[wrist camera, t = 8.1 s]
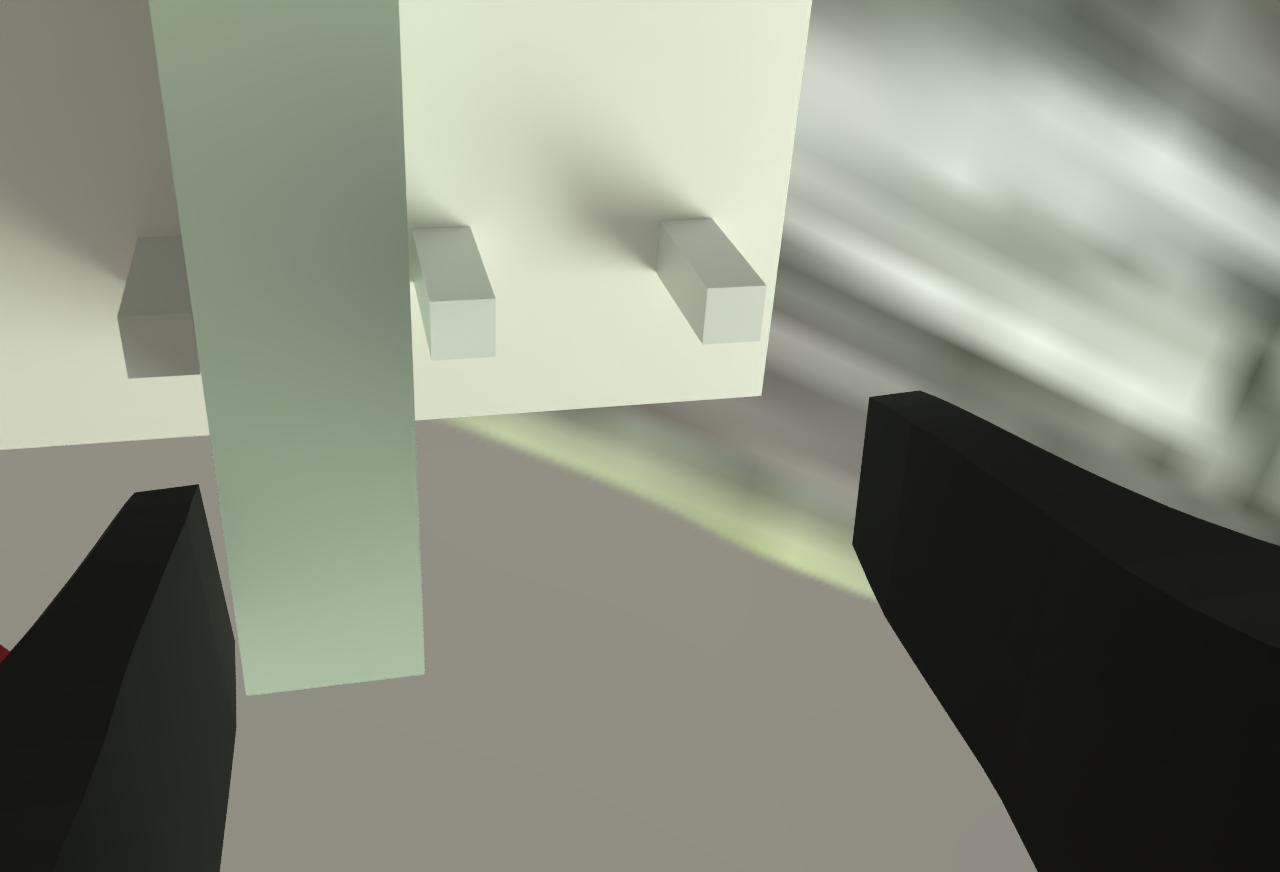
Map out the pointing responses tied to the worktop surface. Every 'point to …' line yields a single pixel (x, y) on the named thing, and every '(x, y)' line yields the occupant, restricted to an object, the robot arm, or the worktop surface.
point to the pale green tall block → (302, 324)
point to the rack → (423, 210)
